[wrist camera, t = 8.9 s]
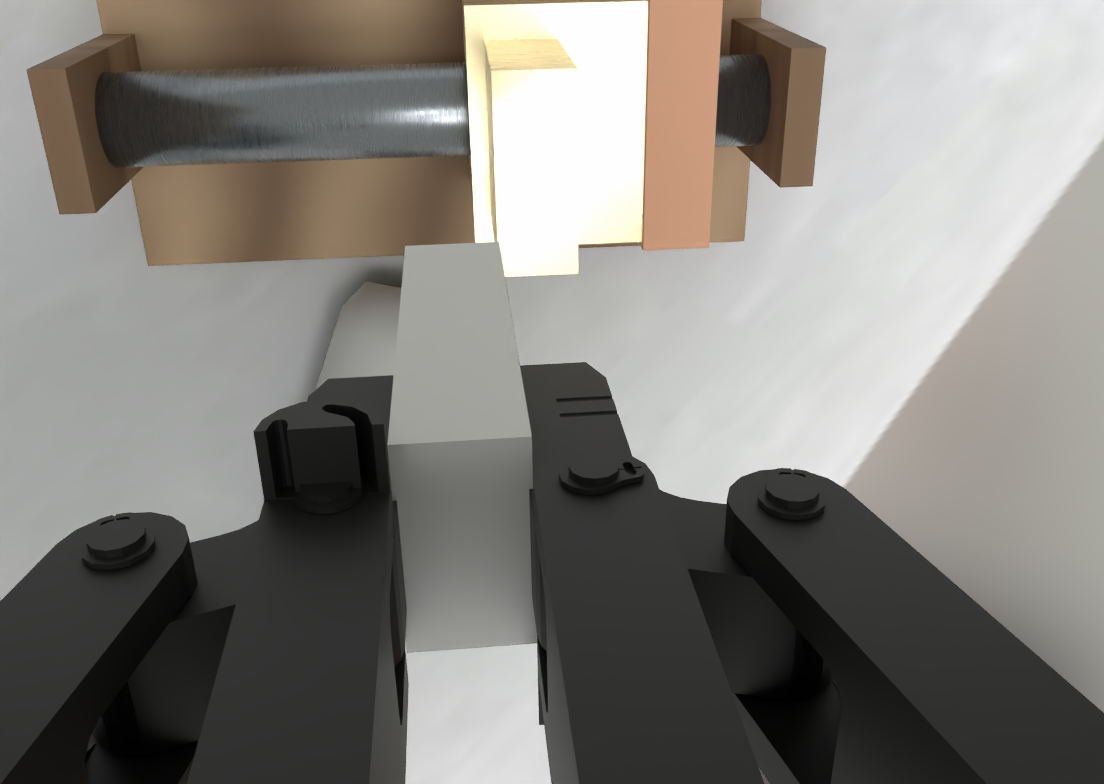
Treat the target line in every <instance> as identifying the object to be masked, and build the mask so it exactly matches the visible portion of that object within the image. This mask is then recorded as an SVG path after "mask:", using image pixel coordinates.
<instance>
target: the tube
mask: <svg viewBox="0 0 1104 784" xmlns="http://www.w3.org/2000/svg"><path fill="white" fill-rule="evenodd" d="M400 298H401V287H394V286H389V285H383V284H378V283H373V282H368V281H366V282H365V283H364V284H363V285H362V286H361V287H360V288H359V289H358V290H357V291H356V292H355V293H354V294H353V295H352V296H351V297H350V298H349V299H348V300H347V301H346V302H345V303H344V304H343V305H342V306H341V310H340V313H339V316H338V319H337V322H336V326H335V329H334V332H333V335H332V338H331V341H330V345H329V348H328V351H327V354H326V357H325V360H324V364H323V367H322V370H321V373H320V376H319V379H318V383H317V386H316V389H317V388H319V387H320V386H321V385H322V384H323V383H324V382H325V381H326V380H327V379H332V378H351V377H369V376H388V375H394V365H395V354H396V343H397V332H398V321H399V309H400ZM316 389H315V390H316Z"/></svg>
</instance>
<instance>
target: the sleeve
mask: <svg viewBox="0 0 1104 784" xmlns="http://www.w3.org/2000/svg"><path fill="white" fill-rule="evenodd" d="M648 7H649V1H647V0H462V16H463V36H464V57H465V62H466V68H467V89H468V110H469V131H470V152H471V155H470V156H469V161H470V182H471V197H472V210H473V223H474V235H475V243H483V242H499V245H500V251H501V257H502V263H503V268H504V274H505V277H513V276H536V275H559V274H578V245H579V244H603V243H627V242H642V233H643V196H644V158H645V120H646V83H647V45H648Z"/></svg>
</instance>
